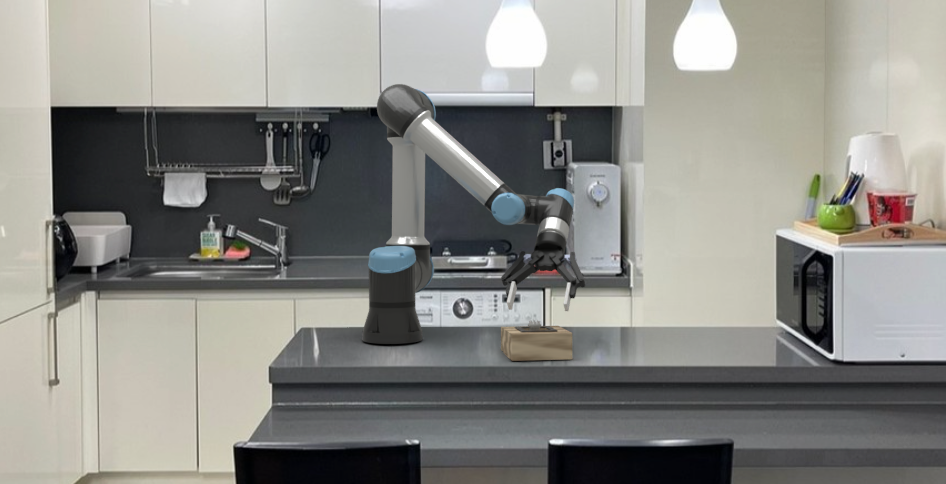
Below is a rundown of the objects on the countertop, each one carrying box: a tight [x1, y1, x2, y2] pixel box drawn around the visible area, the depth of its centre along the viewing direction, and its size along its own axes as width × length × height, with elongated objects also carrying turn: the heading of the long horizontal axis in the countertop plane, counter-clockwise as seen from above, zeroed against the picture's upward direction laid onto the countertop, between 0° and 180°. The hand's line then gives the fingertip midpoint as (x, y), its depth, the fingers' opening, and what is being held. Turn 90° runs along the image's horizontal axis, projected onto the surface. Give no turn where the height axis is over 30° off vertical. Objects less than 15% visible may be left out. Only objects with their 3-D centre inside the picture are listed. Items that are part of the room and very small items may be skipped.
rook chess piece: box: [527, 319, 543, 330], centre depth 225 cm, size 4×4×8 cm
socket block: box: [500, 325, 573, 362], centre depth 225 cm, size 14×14×6 cm
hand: (537, 307), depth 225 cm, fingers open, 13 cm apart
